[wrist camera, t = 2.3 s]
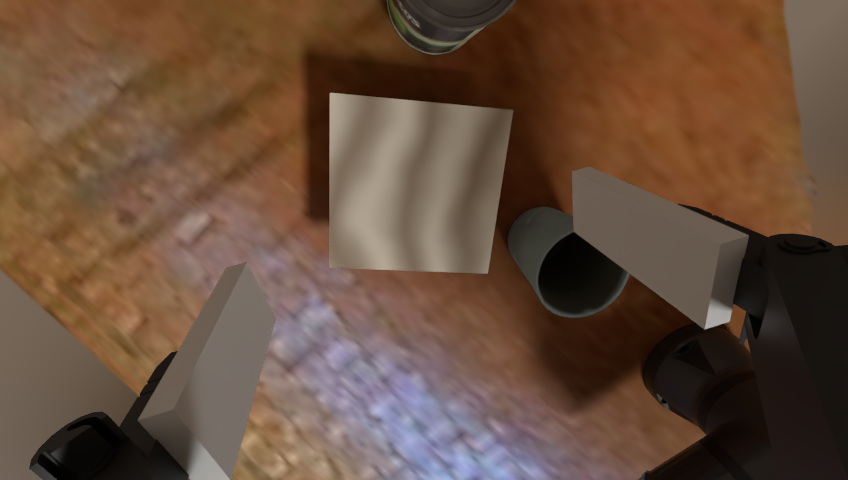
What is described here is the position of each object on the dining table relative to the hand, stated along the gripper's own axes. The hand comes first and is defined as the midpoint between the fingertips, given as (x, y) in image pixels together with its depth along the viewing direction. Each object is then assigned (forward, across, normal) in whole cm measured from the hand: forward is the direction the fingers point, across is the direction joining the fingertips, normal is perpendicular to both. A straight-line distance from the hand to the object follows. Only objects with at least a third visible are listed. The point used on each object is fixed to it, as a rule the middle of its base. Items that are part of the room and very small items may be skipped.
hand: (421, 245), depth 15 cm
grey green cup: (+28, -17, +18) cm, 37 cm away
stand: (+30, -3, +7) cm, 31 cm away
